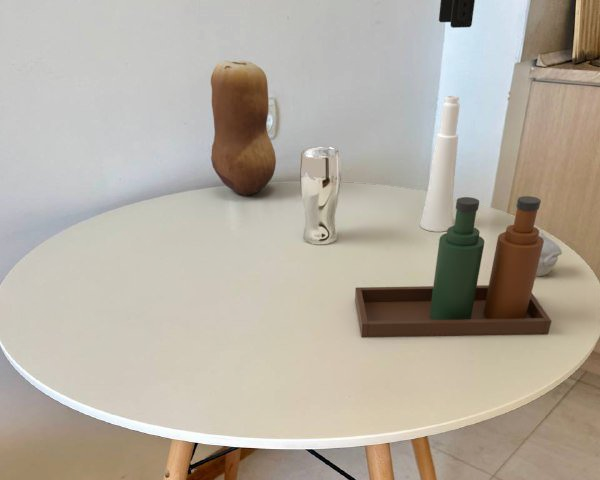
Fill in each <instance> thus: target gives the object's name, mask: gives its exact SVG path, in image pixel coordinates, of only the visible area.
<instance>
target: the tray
mask: <svg viewBox="0 0 600 480" xmlns="http://www.w3.org/2000/svg"><path fill="white" fill-rule="evenodd" d="M488 286H489V284H486V285H483V284H482V285H481V284H480V285H478V284H477V287H476V293H475V298H474V304H473V309H472V315H471V319H464V320H433V319H432V318H431V317H430V308H431V300H432V293H433V285H429V286H427V285H425V286H423V285H421V286H367V287H366V286H365V287H364V286H363V287H362V286H361V287H357V286H356V287H355V288H354V290H355V291H354V292H355V293H354V303H355V309H356V314H357V321H358V326H359V332H360V337H361V339H363V338H419V337H422V338H423V337H424V338H425V337H477V336H480V337H482V336H483V337H484V336H485V337H486V336H536V335H537V336H538V335H539V336H540V335H544V336H545V335H549V331H550V328H551V325H552V319H551V318H550V316H549V315H548V314H547V312H546V311H545V309H544V308H543V306H542V305H541V304H540V302H539V301H538V299H537V298H536V296H535V295H534V294H533V292H532V293H531V297H530V301H529V305H528V309H527V314H526V318H524V319H487V318H486V317H485V316H484V313H483V312H484V307H485V302H486V297H487V292H488Z"/></svg>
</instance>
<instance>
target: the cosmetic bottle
mask: <svg viewBox="0 0 600 480" xmlns="http://www.w3.org/2000/svg"><path fill="white" fill-rule="evenodd" d="M459 100H460V97H459V96H457V95H446V96H445V98H444V101H445V102H443V104H442V107H441V108H442V109H441V116H440V126H439V132H438V133H437V134H436V138H435V143H434V149H433V157H432V163H431V167H430V175H429V182H428V189H427V192H426V193H427V194H426V198H425V203H424V208H423V212H422V215H421V219H420V223H419V226H420V228H422V229H423V230H425V231H428V232H435V233H440V232H441V233H442V232H447V229H448V228H449V227H451V226H454V223H453V203H454V188H455V175H456V165H457V156H458V155H457V153H458V142H459V135H458V133H457V128H458V121H459V113H460V106H461V105H460V103H459Z"/></svg>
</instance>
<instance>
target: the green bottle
mask: <svg viewBox="0 0 600 480" xmlns="http://www.w3.org/2000/svg"><path fill="white" fill-rule="evenodd" d="M479 206H480V200H479V199H478V198H475V197H469V196H462V197H458V198H457V199H456V201H455V211H456V212H455V217H454V224H453V226H451V227H449V228H448V229H447V231H446V233H443V234H442V235H440V237H439V240H438V248H437V255H436V261H435V262H436V263H435V269H434V270H435V271H434V278H433V285H432V286H433V293H432V300H431V308H430V317H431V318H432V319H433V320H464V319H471V315H472V309H473V304H474V298H475V293H476V287H477V285H478V282H479V281H478V280H479V275H480V271H481V263H482V258H483V253H484V249H485V248H484V247H485V243H486V241H485V240H484V238H483V237H482V236H480V230H479V229H478V228H477V227H475V223H476V217H477V211H479V208H480V207H479Z"/></svg>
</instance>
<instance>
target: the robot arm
mask: <svg viewBox="0 0 600 480" xmlns="http://www.w3.org/2000/svg"><path fill="white" fill-rule="evenodd" d="M475 2H476V0H440V4H439V13H438V22H440V23H449V24H450V25H449V26H450V28H451V29H452V28H453V29H454V28H455V29H456V28H458V29H459V28H460V29H461V28H471V27H472V24H473V17H474V11H475Z"/></svg>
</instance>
